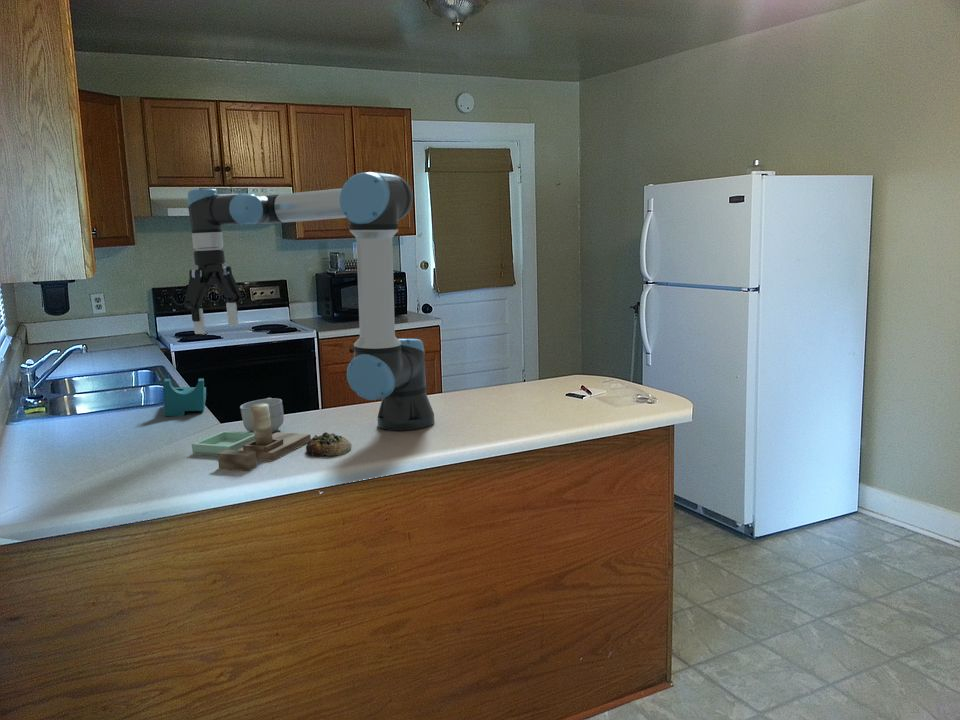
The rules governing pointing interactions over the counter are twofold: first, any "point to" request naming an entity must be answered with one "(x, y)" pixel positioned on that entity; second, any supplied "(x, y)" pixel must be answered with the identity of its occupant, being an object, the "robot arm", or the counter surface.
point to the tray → (222, 442)
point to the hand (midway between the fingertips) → (217, 330)
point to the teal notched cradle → (183, 398)
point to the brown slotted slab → (277, 445)
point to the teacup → (274, 410)
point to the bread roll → (328, 445)
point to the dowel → (262, 424)
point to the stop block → (237, 460)
